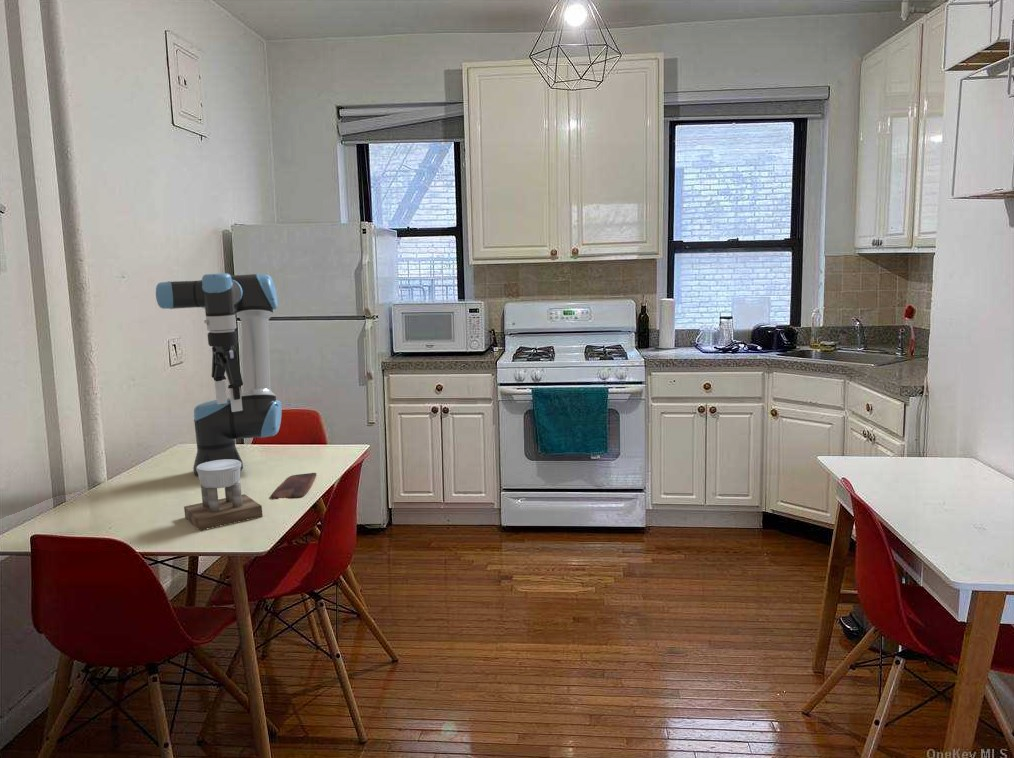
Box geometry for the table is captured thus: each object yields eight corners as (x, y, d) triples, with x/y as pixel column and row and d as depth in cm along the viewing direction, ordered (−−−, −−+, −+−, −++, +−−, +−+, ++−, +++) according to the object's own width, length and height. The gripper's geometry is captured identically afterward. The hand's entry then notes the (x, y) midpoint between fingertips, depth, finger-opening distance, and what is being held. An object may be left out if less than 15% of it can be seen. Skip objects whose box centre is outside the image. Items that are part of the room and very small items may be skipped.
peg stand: (185, 517, 204) (181, 484, 203) (245, 504, 214) (242, 473, 212) (199, 530, 193) (196, 496, 192) (262, 516, 203) (259, 483, 201)
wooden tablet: (289, 471, 244) (320, 466, 244) (290, 478, 244) (321, 473, 244) (267, 496, 218) (303, 491, 218) (269, 504, 218) (304, 498, 218)
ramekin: (229, 490, 196) (227, 470, 195) (188, 489, 198) (186, 469, 197) (250, 478, 207) (249, 459, 206) (212, 477, 209) (210, 458, 208)
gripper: (195, 328, 217) (203, 402, 221) (221, 335, 197) (229, 416, 201) (222, 326, 222) (229, 398, 225) (250, 333, 202) (257, 412, 205)
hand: (229, 407), depth 213 cm, fingers open, 13 cm apart
